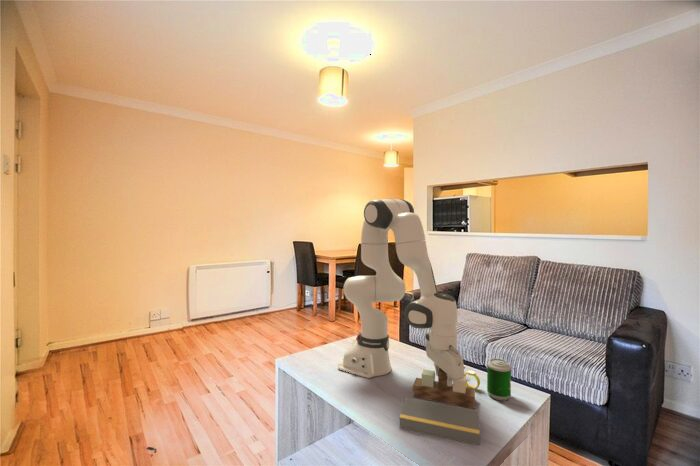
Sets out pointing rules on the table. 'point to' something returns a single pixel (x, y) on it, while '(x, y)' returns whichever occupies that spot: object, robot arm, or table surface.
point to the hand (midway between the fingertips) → (443, 380)
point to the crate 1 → (428, 378)
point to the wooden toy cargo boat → (444, 392)
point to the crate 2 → (459, 385)
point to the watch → (474, 376)
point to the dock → (441, 420)
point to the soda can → (499, 379)
